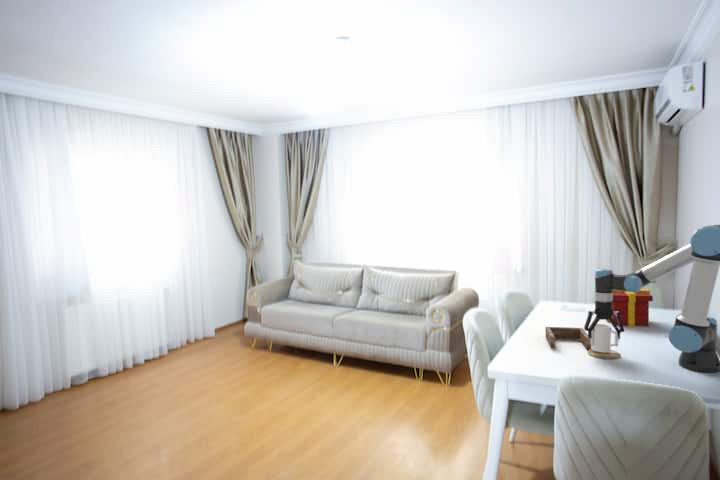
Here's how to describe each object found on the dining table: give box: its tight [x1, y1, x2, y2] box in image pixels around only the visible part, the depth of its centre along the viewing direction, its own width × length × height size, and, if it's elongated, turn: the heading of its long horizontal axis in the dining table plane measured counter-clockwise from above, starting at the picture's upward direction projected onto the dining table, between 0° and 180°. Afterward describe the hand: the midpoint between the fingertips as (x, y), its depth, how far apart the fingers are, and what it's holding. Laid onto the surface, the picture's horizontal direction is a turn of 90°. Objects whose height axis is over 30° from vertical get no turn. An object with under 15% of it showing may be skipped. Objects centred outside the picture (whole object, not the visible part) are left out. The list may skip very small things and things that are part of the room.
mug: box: [591, 323, 620, 353], centre depth 218 cm, size 12×8×12 cm
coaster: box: [587, 349, 621, 360], centre depth 218 cm, size 14×14×1 cm
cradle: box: [545, 326, 592, 351], centre depth 238 cm, size 20×19×6 cm
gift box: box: [605, 288, 654, 328], centre depth 274 cm, size 25×25×20 cm
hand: (603, 345), depth 218 cm, fingers closed on mug, 10 cm apart
